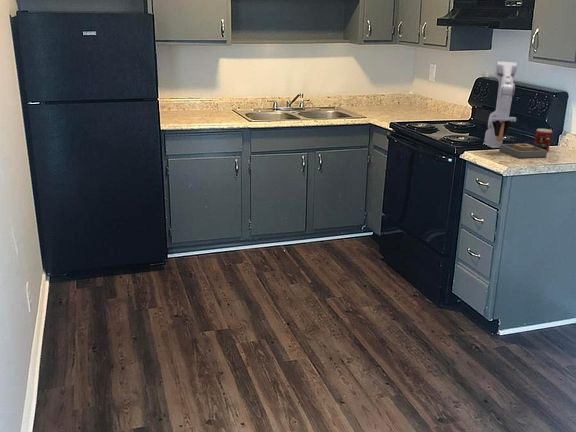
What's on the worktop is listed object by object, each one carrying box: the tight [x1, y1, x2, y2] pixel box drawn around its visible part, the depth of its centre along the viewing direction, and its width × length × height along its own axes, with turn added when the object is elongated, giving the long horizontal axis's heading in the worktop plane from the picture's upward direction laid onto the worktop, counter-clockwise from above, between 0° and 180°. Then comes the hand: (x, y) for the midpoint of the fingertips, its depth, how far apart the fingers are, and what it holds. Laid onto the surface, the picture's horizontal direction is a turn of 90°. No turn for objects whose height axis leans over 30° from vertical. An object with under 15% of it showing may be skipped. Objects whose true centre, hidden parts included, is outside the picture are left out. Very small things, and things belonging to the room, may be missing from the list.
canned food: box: [533, 128, 553, 153], centre depth 307 cm, size 8×8×11 cm
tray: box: [499, 143, 548, 160], centre depth 298 cm, size 16×16×5 cm
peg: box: [496, 122, 505, 142], centre depth 293 cm, size 3×3×9 cm
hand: (499, 135), depth 294 cm, fingers closed on peg, 3 cm apart
